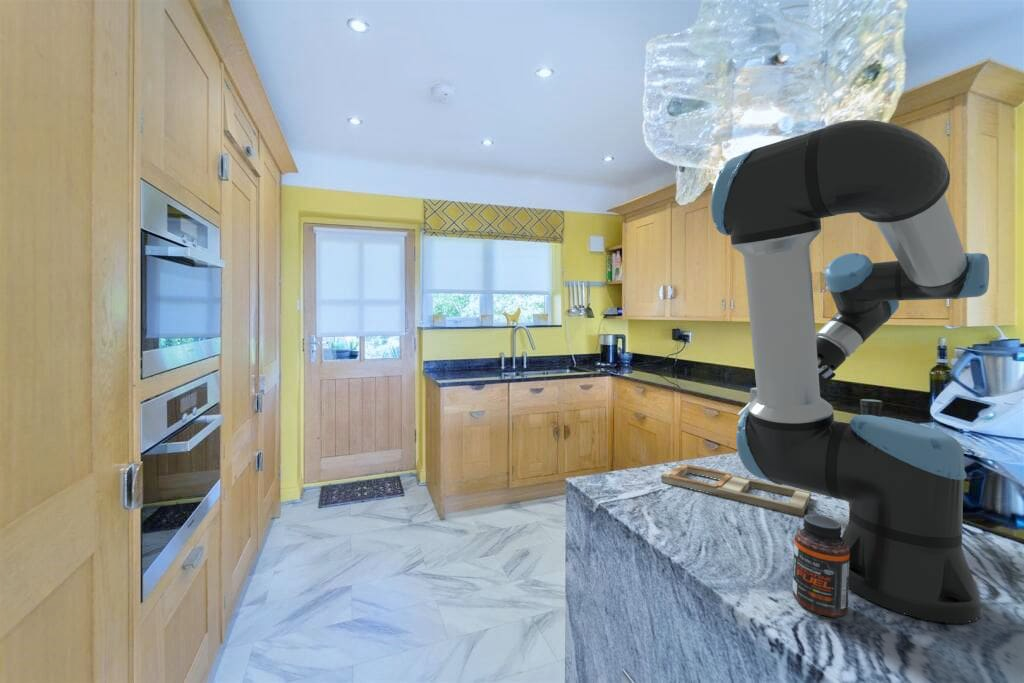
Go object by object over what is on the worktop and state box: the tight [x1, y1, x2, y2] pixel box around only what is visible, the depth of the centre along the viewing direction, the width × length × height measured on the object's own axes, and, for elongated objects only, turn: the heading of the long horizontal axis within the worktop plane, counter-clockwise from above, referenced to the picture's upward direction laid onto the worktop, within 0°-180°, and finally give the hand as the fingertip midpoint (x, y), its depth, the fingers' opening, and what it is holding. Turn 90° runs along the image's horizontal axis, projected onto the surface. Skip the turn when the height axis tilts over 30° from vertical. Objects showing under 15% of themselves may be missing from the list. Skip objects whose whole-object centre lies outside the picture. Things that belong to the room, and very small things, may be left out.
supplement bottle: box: [792, 514, 850, 618], centre depth 56 cm, size 6×6×11 cm
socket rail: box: [660, 463, 812, 517], centre depth 96 cm, size 12×28×2 cm, turn 48°
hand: (751, 422), depth 91 cm, fingers closed on skincare box, 7 cm apart
